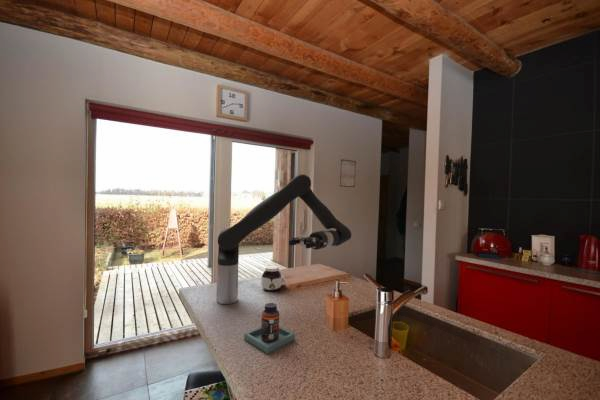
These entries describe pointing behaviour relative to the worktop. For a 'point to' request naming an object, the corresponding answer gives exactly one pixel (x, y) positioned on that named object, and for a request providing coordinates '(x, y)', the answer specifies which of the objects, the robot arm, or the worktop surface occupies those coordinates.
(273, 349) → the tray
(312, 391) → the worktop surface
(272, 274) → the spread jar
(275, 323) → the supplement bottle
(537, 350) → the worktop surface
